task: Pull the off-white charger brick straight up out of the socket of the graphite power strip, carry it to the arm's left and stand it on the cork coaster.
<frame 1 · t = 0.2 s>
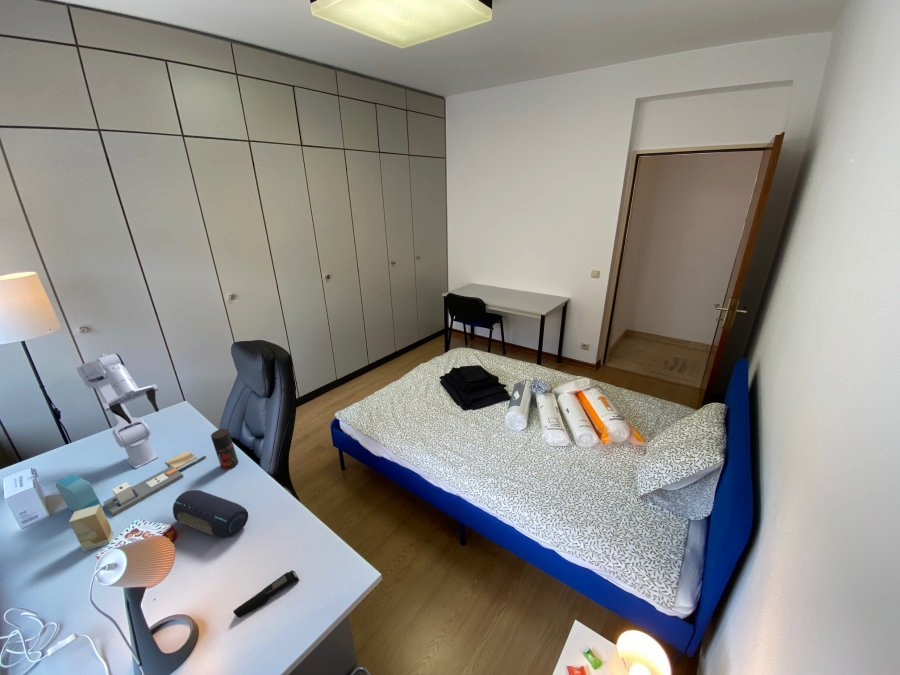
hand: (144, 416, 122), 31 cm above the table, tool tilted 45°, fingers open, 7 cm apart
skincare box: (100, 542, 112), on the table
electric trimmer: (270, 597, 96), on the table
charger plug: (127, 500, 127), resting in power strip
deodorant: (230, 465, 143), on the table
power strip: (144, 491, 131), on the table
portable speaker: (213, 525, 117), on the table
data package: (86, 509, 125), on the table
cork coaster: (181, 460, 147), on the table
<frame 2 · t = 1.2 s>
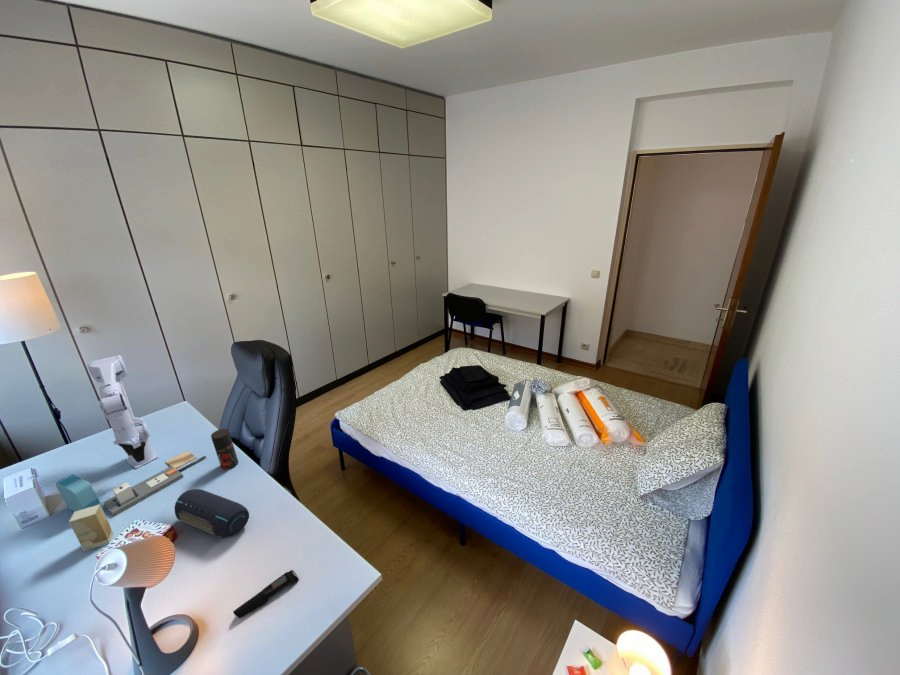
hand: (136, 457, 133), 11 cm above the table, tool pointing down, fingers open, 7 cm apart
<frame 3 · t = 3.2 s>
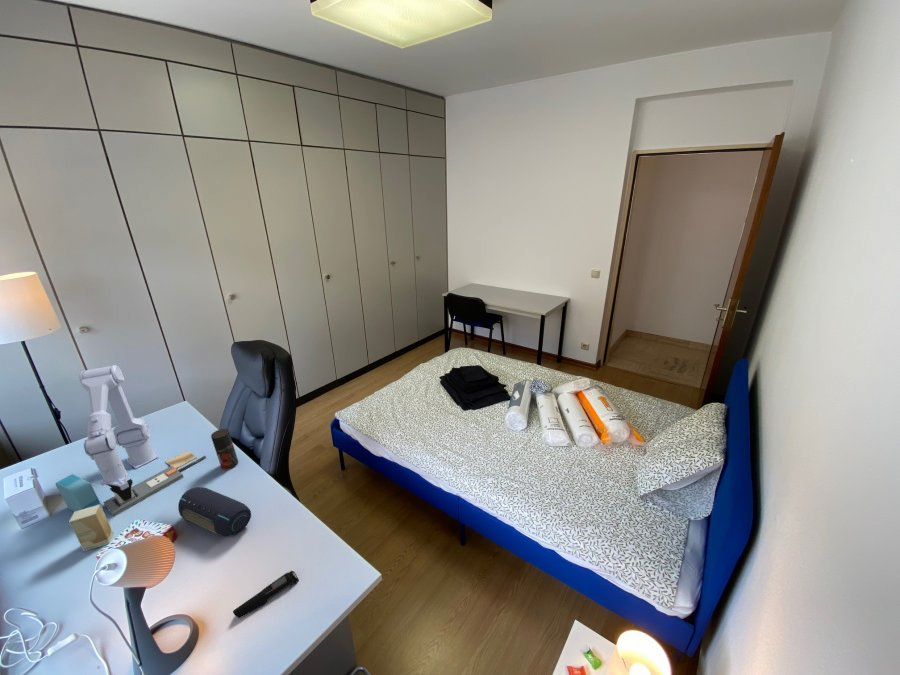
hand: (125, 496, 127), 2 cm above the table, tool pointing down, fingers closed on charger plug, 4 cm apart
charger plug: (127, 500, 127), resting in power strip, touching gripper
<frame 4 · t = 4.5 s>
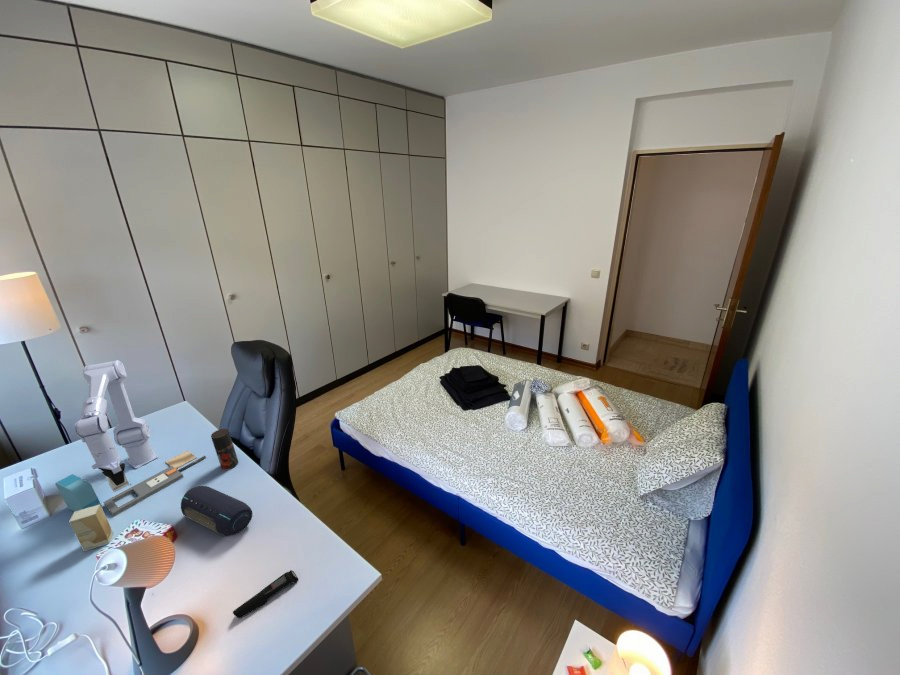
hand: (118, 481, 124), 9 cm above the table, tool pointing down, fingers closed on charger plug, 4 cm apart
charger plug: (120, 485, 125), point 7 cm above the table, touching gripper
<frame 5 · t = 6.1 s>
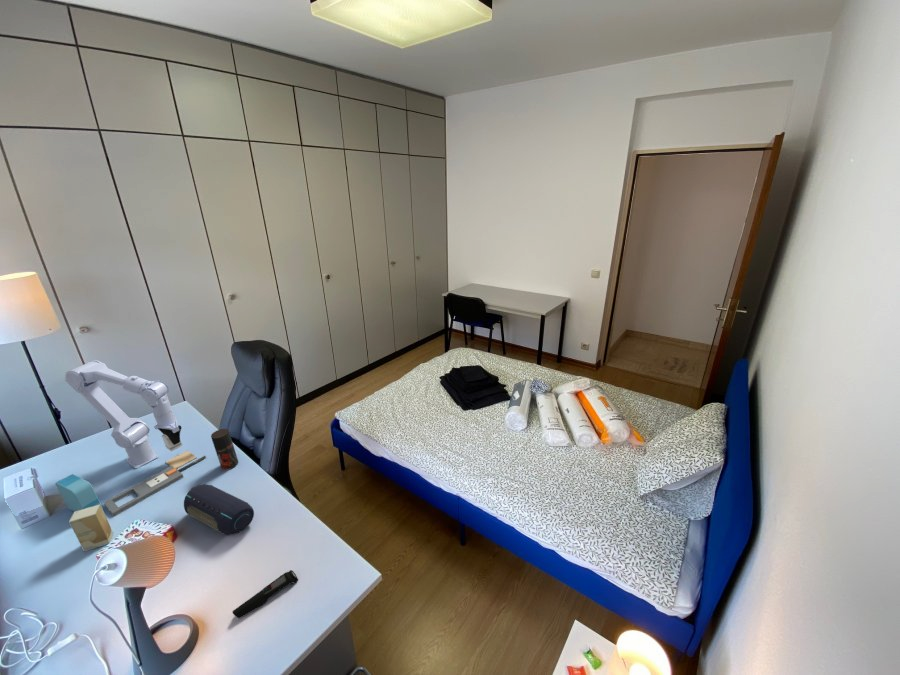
hand: (174, 441, 143), 9 cm above the table, tool pointing down, fingers closed on charger plug, 4 cm apart
charger plug: (174, 446, 143), point 7 cm above the table, touching gripper
when the fingers open (3 cm above the table, at t = 7.6 s): charger plug stays where it is, resting on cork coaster.
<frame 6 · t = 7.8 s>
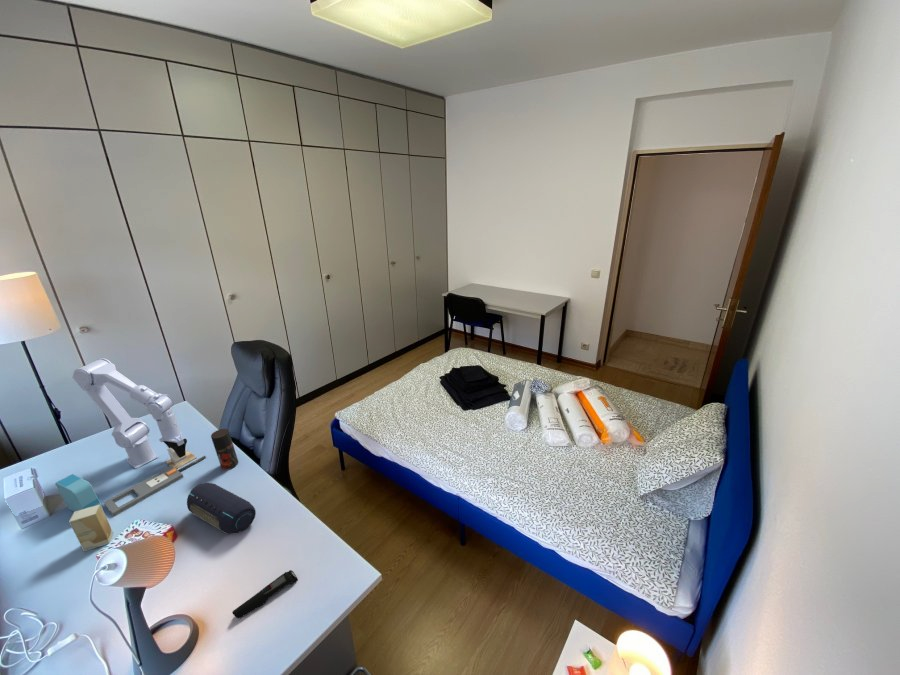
hand: (178, 453, 145), 3 cm above the table, tool pointing down, fingers open, 6 cm apart
charger plug: (179, 460, 146), resting on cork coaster
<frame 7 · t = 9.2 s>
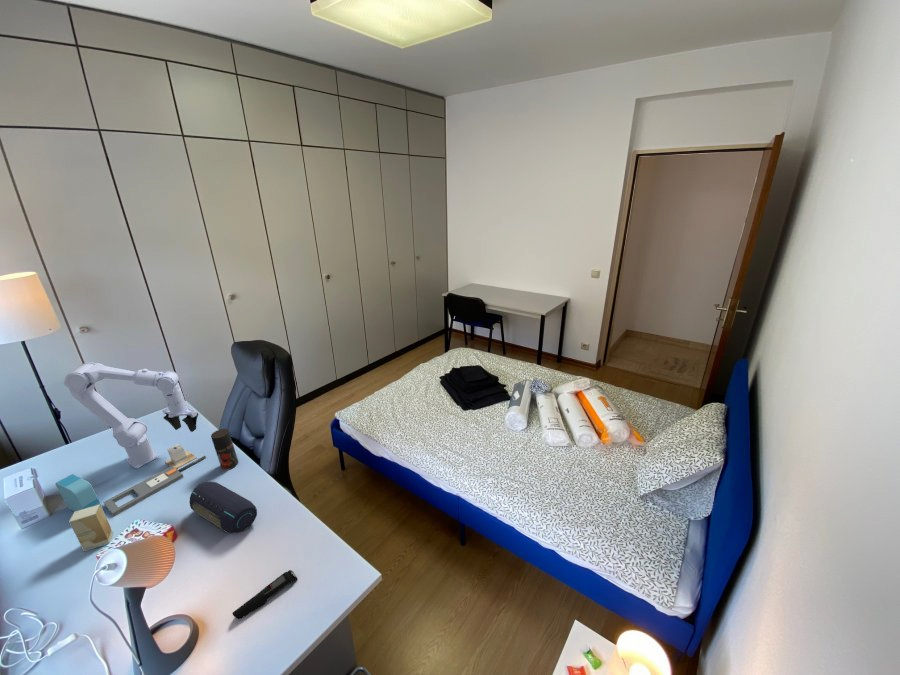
hand: (185, 429, 148), 10 cm above the table, tool pointing down, fingers open, 7 cm apart
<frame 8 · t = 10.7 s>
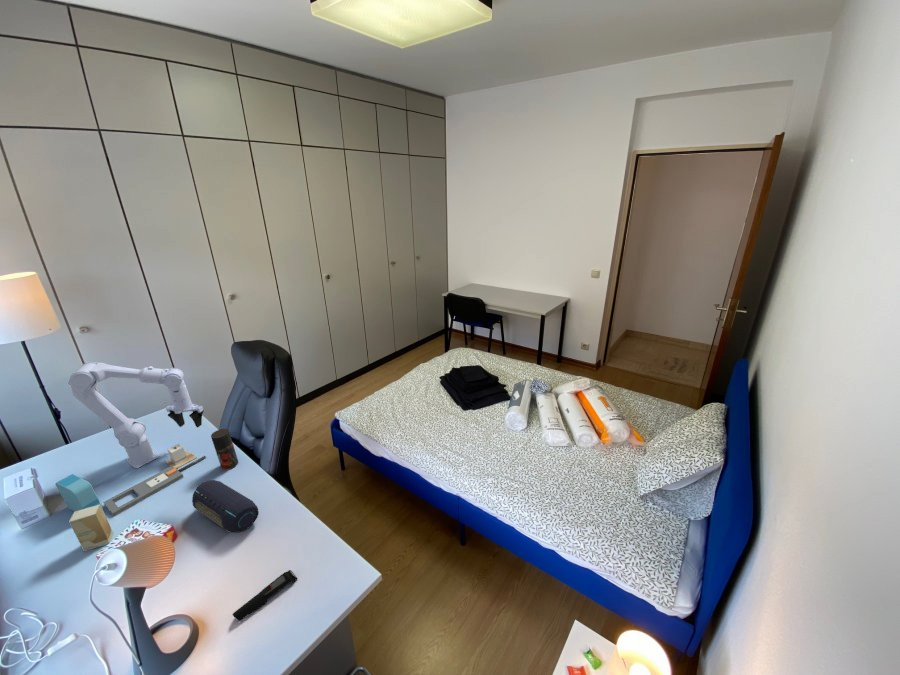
hand: (190, 425, 151), 10 cm above the table, tool pointing down, fingers open, 7 cm apart
at the end: charger plug inside the target area on the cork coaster (0.5 cm from its centre), point 0.4 cm above the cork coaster's base; charger plug tilted 0°; the gripper is holding nothing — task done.
